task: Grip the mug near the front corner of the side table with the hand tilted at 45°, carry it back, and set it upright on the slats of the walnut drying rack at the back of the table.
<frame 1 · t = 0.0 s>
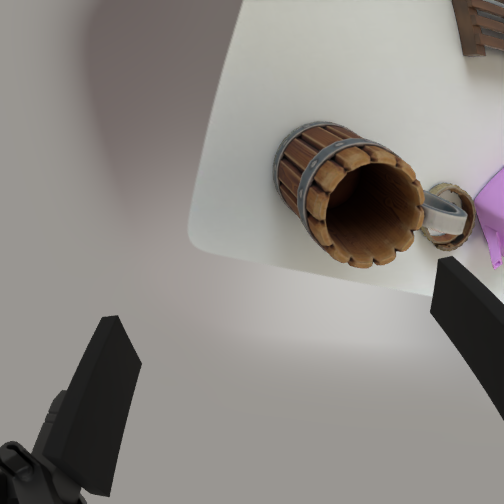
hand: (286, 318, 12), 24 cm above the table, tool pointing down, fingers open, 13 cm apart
drying rack: (488, 16, 23), on the table
bracelet: (441, 213, 36), on the table
mug: (341, 171, 33), on the table
teapot: (499, 203, 36), on the table
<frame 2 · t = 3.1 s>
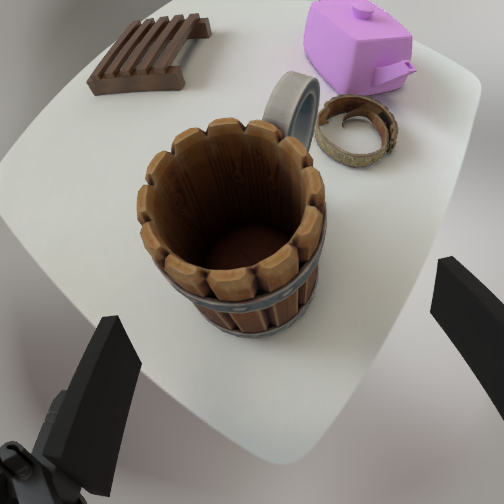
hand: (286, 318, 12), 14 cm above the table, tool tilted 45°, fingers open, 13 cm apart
drying rack: (153, 60, 38), on the table
bracelet: (353, 138, 31), on the table
mug: (266, 251, 28), on the table
teapot: (353, 71, 35), on the table
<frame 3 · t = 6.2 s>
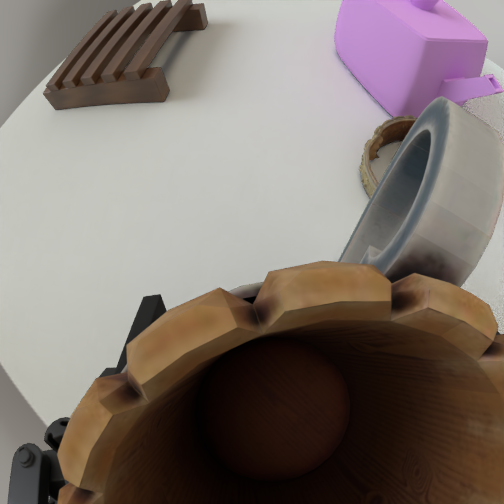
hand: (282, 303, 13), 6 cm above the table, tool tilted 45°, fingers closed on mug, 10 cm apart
drying rack: (130, 60, 28), on the table
bracelet: (412, 182, 21), on the table
mug: (290, 369, 17), on the table, touching gripper
teapot: (401, 79, 24), on the table
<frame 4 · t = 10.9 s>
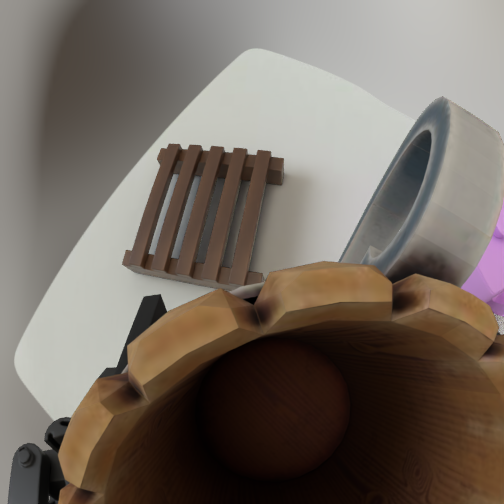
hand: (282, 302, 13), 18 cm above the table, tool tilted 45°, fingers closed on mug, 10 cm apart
drying rack: (208, 221, 34), on the table
mug: (291, 369, 17), point 12 cm above the table, touching gripper
teapot: (456, 261, 30), on the table
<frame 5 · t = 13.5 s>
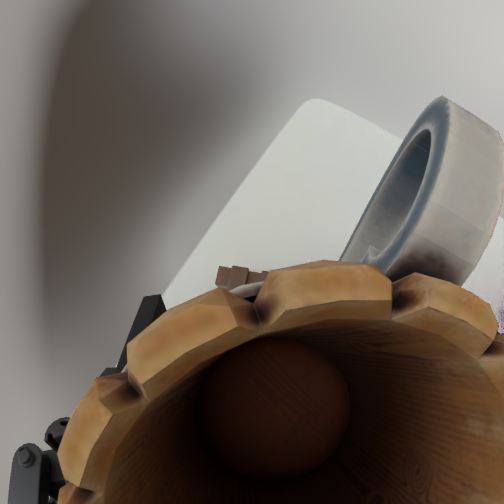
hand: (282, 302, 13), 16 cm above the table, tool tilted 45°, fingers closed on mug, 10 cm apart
drying rack: (284, 362, 27), on the table
mug: (291, 369, 17), point 10 cm above the table, touching gripper
when the fingers open (10 cm above the table, at t = 15.8 s): mug stays where it is, resting on drying rack.
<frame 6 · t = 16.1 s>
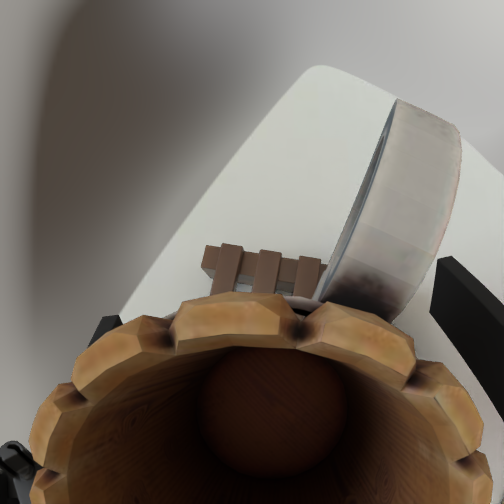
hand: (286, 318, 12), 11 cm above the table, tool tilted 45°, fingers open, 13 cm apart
drying rack: (288, 367, 21), on the table
mug: (291, 370, 18), point 4 cm above the table, touching drying rack
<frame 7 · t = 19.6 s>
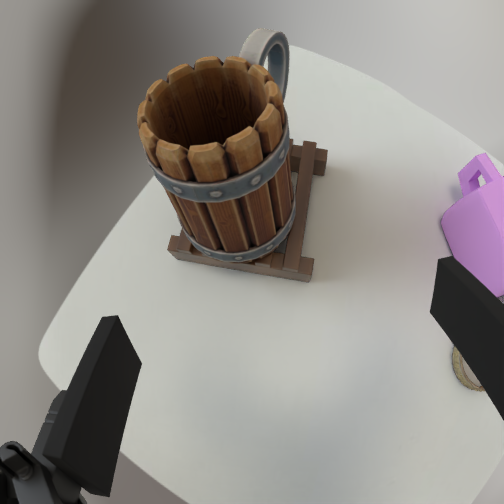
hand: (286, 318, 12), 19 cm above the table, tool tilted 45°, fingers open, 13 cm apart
drying rack: (253, 208, 34), on the table
bracelet: (479, 353, 27), on the table
mug: (250, 191, 31), point 4 cm above the table, touching drying rack
teapot: (482, 251, 30), on the table
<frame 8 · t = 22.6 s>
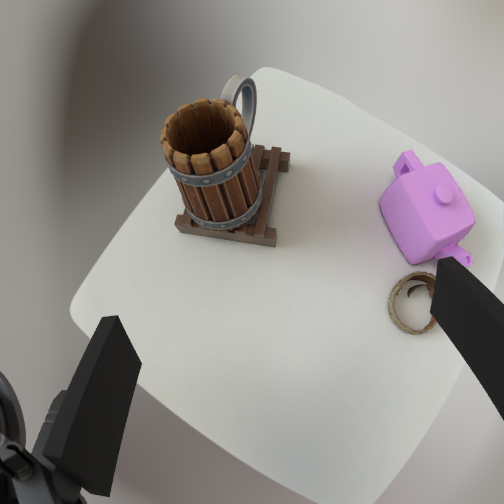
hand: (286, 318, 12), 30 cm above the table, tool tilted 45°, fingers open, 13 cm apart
drying rack: (236, 196, 47), on the table
bracelet: (414, 305, 40), on the table
mug: (233, 183, 44), point 4 cm above the table, touching drying rack
teapot: (417, 227, 44), on the table
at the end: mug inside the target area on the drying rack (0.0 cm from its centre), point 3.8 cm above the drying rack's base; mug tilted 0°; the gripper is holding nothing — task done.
